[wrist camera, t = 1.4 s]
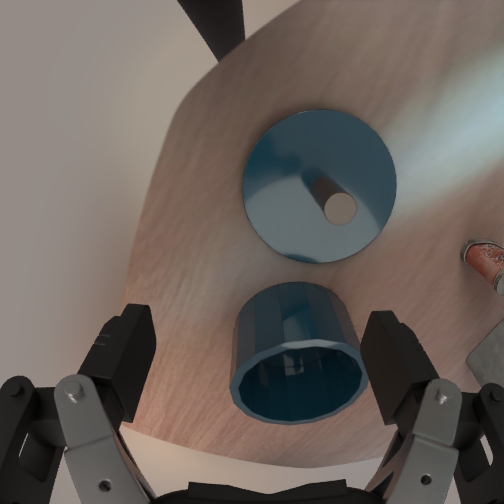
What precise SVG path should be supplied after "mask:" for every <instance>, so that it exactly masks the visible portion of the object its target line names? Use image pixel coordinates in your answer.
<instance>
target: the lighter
mask: <svg viewBox="0 0 504 504" xmlns="http://www.w3.org/2000/svg"><path fill="white" fill-rule="evenodd" d="M460 257H461V259H462V260H463V261H464V262H465V263H466V264H468V265H471V266H472V267H473V268H474V269H475V270H476V271H478V272H479V273H480V274H481V275H482V276H483V277H484V278H485V279H486V280H487V281H488V282H489V283H490V284H491V285H492V286H493V288H494V290H495V291H496V292H497V293H498V294H499V295H502V296H504V248H503V247H502V246H501V245H499V244H497V243H495V242H493V241H490V240H486V239H476V240H469V241H467V242H466V243H465V244H464V245H463V247H462V249H461V253H460Z"/></svg>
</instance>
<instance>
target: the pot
mask: <svg viewBox="0 0 504 504" xmlns="http://www.w3.org/2000/svg"><path fill="white" fill-rule="evenodd" d="M360 345H361V344H360V341H359V339H358V336H357V334H356V331H355V329H354V327H353V324H352V322H351V319H350V317H349V315H348V312H347V310H346V308H345V306H344V304H343V302H342V301H341V300H340V298H339V297H338V296H337V295H336V294H334V293H333V292H332V291H330V290H329V289H327V288H325V287H322V286H320V285H316V284H313V283H307V282H289V283H282V284H278V285H275V286H272V287H269V288H267V289H265V290H263V291H261V292H259V293H258V294H256V295H255V296H253V297H252V298H251V299H250V300H249V301H248V302H247V303H246V304H245V305H244V306H243V307H242V309H241V310H240V312H239V314H238V316H237V319H236V322H235V327H234V330H233V342H232V356H231V370H230V384H229V389H230V392H231V396H232V399H233V403H234V404H235V405H236V406H237V407H238V408H239V409H241V410H242V411H243V412H244V413H245V414H246V415H247V416H249V417H252V418H255V419H257V420H260V421H262V422H265V423H271V424H281V425H297V424H306V423H313V422H316V421H319V420H322V419H325V418H328V417H330V416H333V415H336V414H337V413H339V412H341V411H342V410H344V409H345V408H347V407H348V406H350V405H351V404H353V403H354V402H355V401H356V400H357V398H358V397H359V396H360V395H361V394H362V392H363V391H364V390H365V389H366V387H367V385H368V381H369V378H368V375H367V372H366V369H365V367H364V364H363V361H362V358H361V354H360Z"/></svg>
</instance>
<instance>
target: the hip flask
mask: <svg viewBox="0 0 504 504" xmlns="http://www.w3.org/2000/svg"><path fill="white" fill-rule="evenodd" d="M466 363H467V365H468V366H469V368H470V370H471V371H472V373H473V374H474V376H475V378H476V379H477V381H478V383H479V384H480V386H481V388H482V387H483V386H484V385H485V384H487V383H496V384H499V385H500V386H502V387H503V388H504V319H503V320H502V321H501V322H500V323H499V324H498V325H497V326H496V327H495V328H494V329H493V330H492V332H491V333H490V334H489V335H488V336H487V337H486V338H485V339H484V340H483V341H482V342H481V343H480V344H479V345H478V346H477V347H476V348H475V349H474V350H473V351H472V353H471V354H470V355H469V356H468V357H467V359H466Z"/></svg>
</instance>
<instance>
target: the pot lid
mask: <svg viewBox="0 0 504 504" xmlns="http://www.w3.org/2000/svg"><path fill="white" fill-rule="evenodd" d="M396 187H397V185H396V173H395V167H394V164H393V160H392V157H391V155H390V153H389V151H388V149H387V147H386V145H385V144H384V142H383V141H382V139H381V138H380V137H379V136H378V134H377V133H376V132H375V131H374V130H373V129H371V128H370V127H369V126H368V125H367V124H365V123H364V122H362V121H361V120H359V119H357V118H355V117H353V116H351V115H349V114H346V113H343V112H339V111H334V110H324V109H317V110H307V111H303V112H299V113H295V114H293V115H290V116H288V117H286V118H284V119H282V120H281V121H279V122H277V123H276V124H274V125H273V126H272V127H271V128H269V129H268V130H267V131H266V132H265V133H264V134H263V135H262V136H261V137H260V139H259V140H258V141H257V143H256V144H255V146H254V147H253V149H252V151H251V153H250V155H249V157H248V160H247V162H246V165H245V169H244V174H243V182H242V196H243V203H244V208H245V211H246V214H247V217H248V219H249V221H250V223H251V225H252V227H253V228H254V230H255V231H256V233H257V234H258V235H259V237H260V238H261V239H262V240H263V241H264V242H265V243H266V244H267V245H268V246H270V247H271V248H272V249H274V250H275V251H277V252H278V253H280V254H282V255H284V256H286V257H288V258H291V259H294V260H297V261H302V262H307V263H327V262H333V261H337V260H341V259H344V258H346V257H349V256H351V255H353V254H355V253H357V252H358V251H360V250H362V249H363V248H364V247H366V246H367V245H368V244H369V243H370V242H372V241H373V240H374V239H375V238H376V236H377V235H378V234H379V233H380V232H381V230H382V229H383V227H384V226H385V224H386V223H387V221H388V219H389V216H390V214H391V212H392V209H393V206H394V202H395V197H396Z"/></svg>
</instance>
